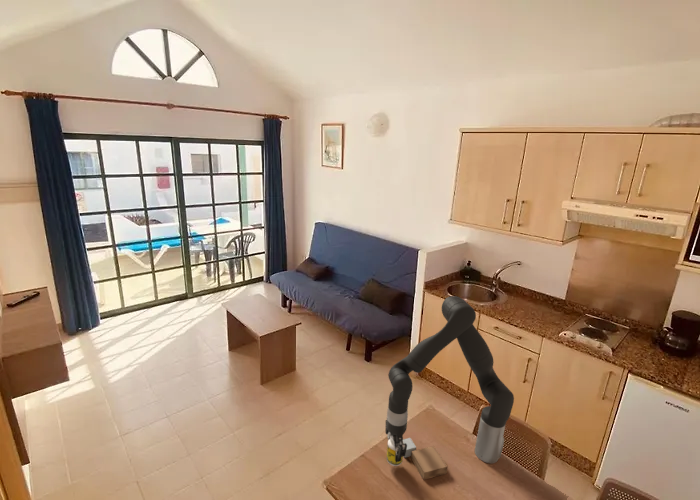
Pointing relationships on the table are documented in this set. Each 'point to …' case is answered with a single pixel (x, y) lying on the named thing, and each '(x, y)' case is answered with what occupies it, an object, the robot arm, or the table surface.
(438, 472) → the walnut block
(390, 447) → the pill bottle
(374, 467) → the table surface
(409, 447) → the slate block
